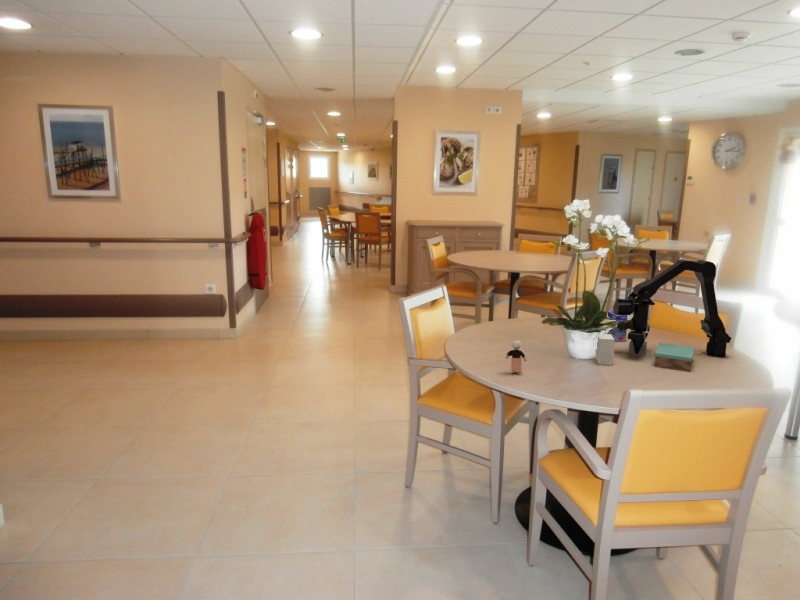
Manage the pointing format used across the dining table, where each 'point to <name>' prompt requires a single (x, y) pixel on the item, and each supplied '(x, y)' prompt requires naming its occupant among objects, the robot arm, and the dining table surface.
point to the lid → (675, 351)
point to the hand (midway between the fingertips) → (637, 351)
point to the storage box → (673, 363)
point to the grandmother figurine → (516, 357)
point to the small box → (605, 350)
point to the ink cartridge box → (615, 331)
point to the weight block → (641, 352)
